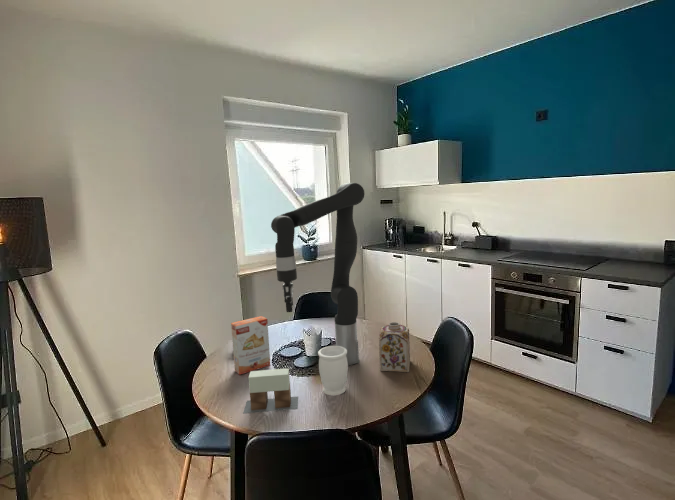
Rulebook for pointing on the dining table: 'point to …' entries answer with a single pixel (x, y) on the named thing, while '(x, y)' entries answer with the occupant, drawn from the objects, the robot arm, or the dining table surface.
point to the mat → (271, 406)
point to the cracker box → (250, 344)
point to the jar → (333, 369)
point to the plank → (269, 380)
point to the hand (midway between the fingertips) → (289, 308)
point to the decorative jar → (394, 348)
